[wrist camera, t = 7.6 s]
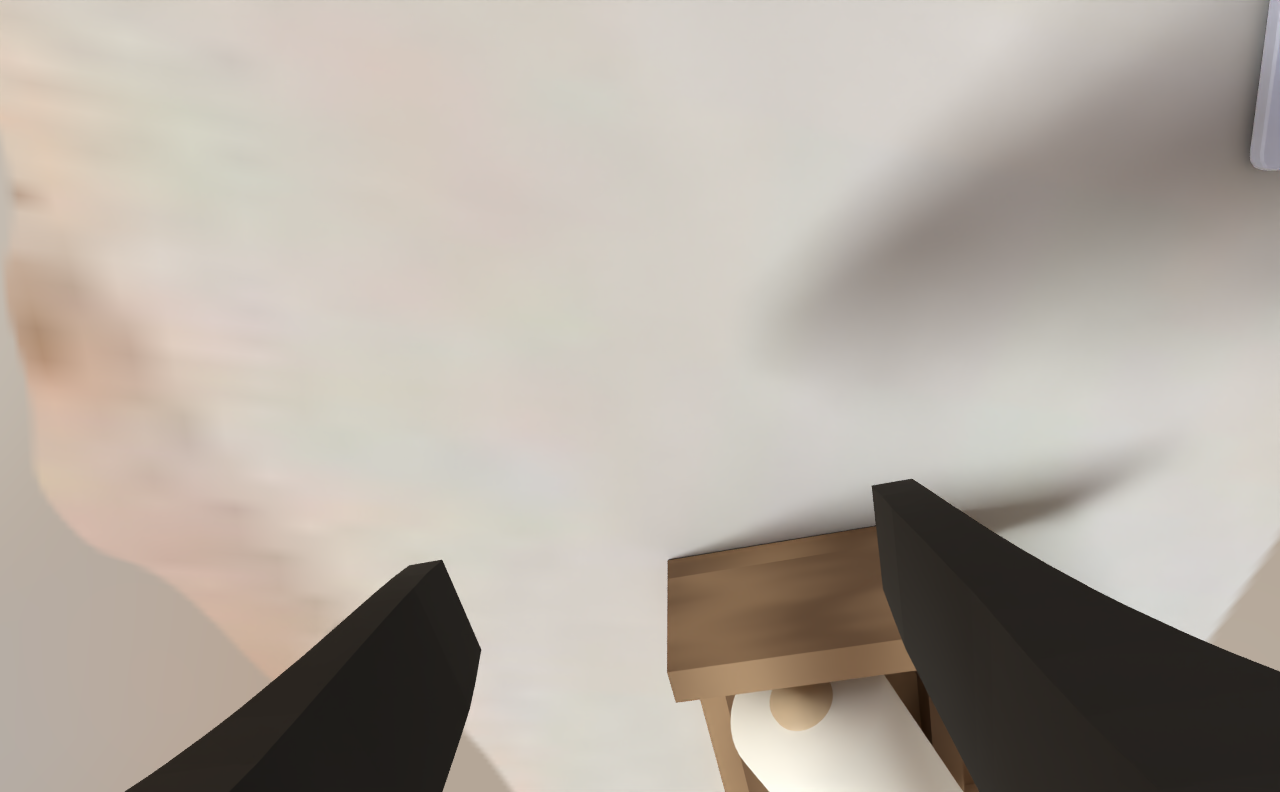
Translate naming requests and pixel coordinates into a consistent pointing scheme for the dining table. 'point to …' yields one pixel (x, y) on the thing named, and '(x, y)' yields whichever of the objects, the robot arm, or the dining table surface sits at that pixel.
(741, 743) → the roll
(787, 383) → the dining table surface
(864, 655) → the holder
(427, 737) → the robot arm
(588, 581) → the dining table surface
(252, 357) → the dining table surface
